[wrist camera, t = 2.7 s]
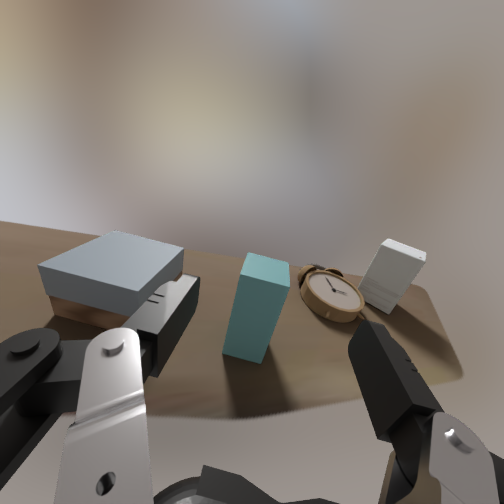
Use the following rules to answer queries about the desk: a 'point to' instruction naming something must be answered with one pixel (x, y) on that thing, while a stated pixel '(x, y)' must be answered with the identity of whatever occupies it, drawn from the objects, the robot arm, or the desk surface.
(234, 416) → the desk surface
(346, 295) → the alarm clock
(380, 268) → the supplement box
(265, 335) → the teal block
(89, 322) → the block
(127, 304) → the tower top
